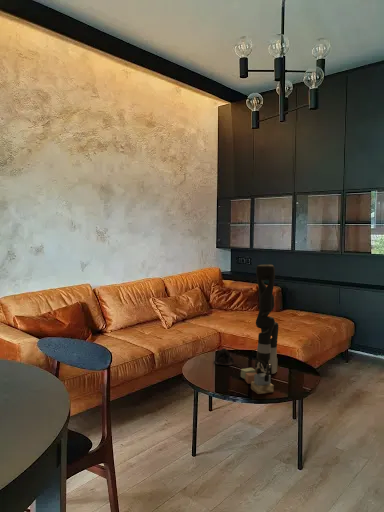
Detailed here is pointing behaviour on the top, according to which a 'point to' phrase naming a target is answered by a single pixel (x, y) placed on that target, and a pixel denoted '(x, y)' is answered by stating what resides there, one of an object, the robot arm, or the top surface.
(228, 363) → the crystal cluster
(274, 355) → the robot arm
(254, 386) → the birch brick
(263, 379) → the slate brick
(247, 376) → the terracotta brick
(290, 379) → the top surface
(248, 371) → the sage brick
